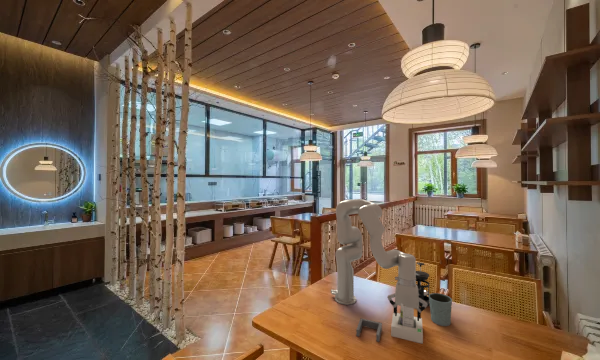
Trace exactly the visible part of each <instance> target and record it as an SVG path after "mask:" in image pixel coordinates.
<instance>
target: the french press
mask: <svg viewBox="0 0 600 360" xmlns="http://www.w3.org/2000/svg"><path fill="white" fill-rule="evenodd" d="M425 264H426V263H424V262H416V265H418V266H419V270H416V284H417V287H418V293H419V298H421V299H422V300H424V301H425V302H427V304H428V305H427V307H426V308H428V307H430V302H429V295H430V282H429V281H427V280H428V279H429V277H430V274H429V273H428V272H425V271H422V266H425ZM422 283H425V284H426V285H422ZM426 288H427V290H428V291H427V290H426ZM419 306H420V307H421V306H423V304H422V303H421V302H419Z"/></svg>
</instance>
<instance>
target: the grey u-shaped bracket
mask: <svg viewBox="0 0 600 360" xmlns="http://www.w3.org/2000/svg"><path fill="white" fill-rule="evenodd" d="M363 327H364V328H369V329H374V330H376V333H375V335H376V336H375V337H376V338H375V340H376V342H378V343H379V342H380V339H381V335H382V331H383V323H382V322H378V321H374V320H371V319H370V320H369V319H366V318H361V317H360V319H359V322H358V325H357V327H356V330H355V332H356V337H360V336H361V333H362V330H363Z"/></svg>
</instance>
